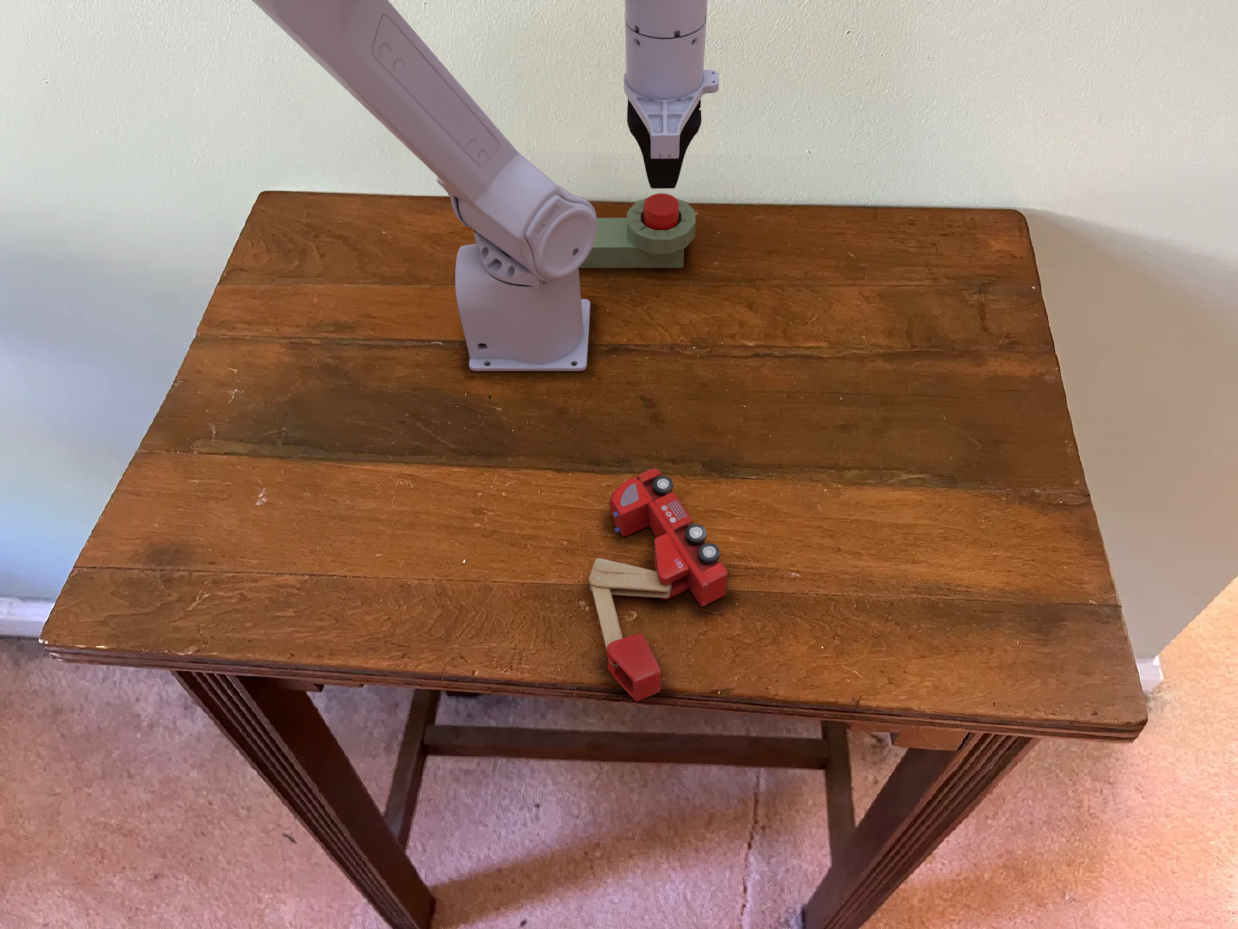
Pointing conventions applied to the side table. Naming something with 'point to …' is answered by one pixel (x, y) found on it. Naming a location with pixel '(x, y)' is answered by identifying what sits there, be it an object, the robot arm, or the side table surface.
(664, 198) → the button
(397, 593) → the side table surface
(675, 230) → the button box
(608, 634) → the toy fire truck
